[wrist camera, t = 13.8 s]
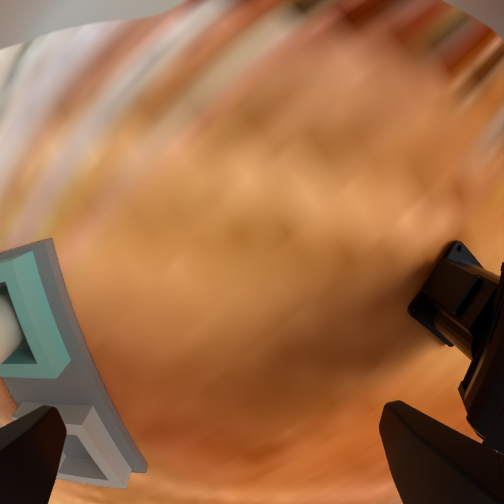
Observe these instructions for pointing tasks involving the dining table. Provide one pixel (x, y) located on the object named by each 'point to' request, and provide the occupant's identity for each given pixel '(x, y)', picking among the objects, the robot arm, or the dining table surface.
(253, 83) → the dining table surface
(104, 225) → the dining table surface
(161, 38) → the dining table surface
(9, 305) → the peg
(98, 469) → the socket board
